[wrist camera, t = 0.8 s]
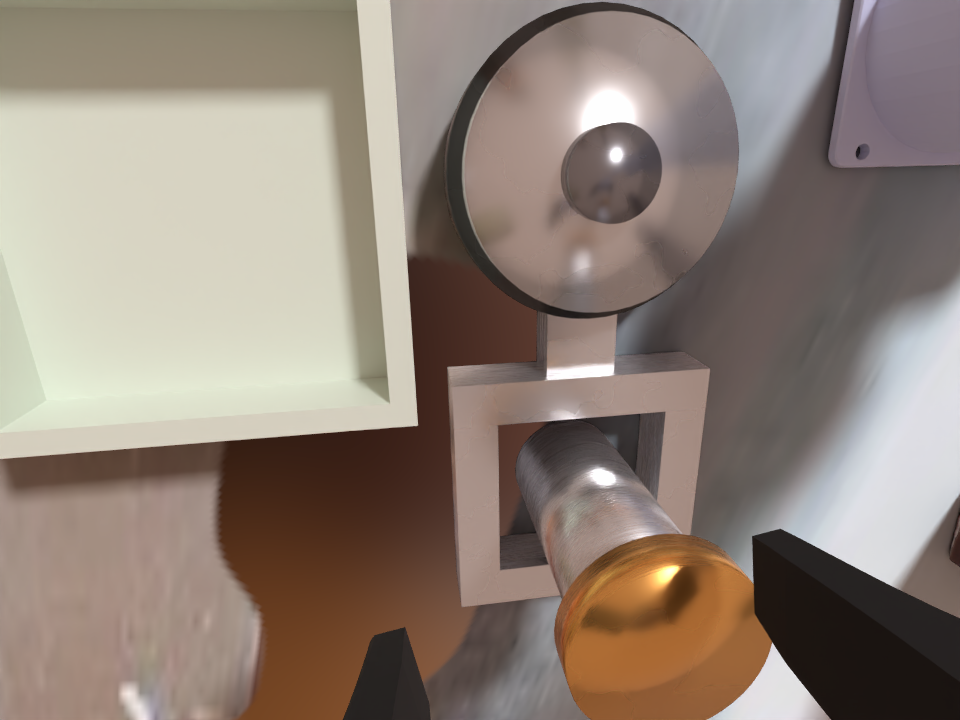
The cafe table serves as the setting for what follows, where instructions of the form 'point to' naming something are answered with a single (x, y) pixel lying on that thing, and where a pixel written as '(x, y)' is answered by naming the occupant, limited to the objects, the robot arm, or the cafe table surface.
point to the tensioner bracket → (582, 253)
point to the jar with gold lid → (635, 588)
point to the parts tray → (199, 223)
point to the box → (956, 545)
